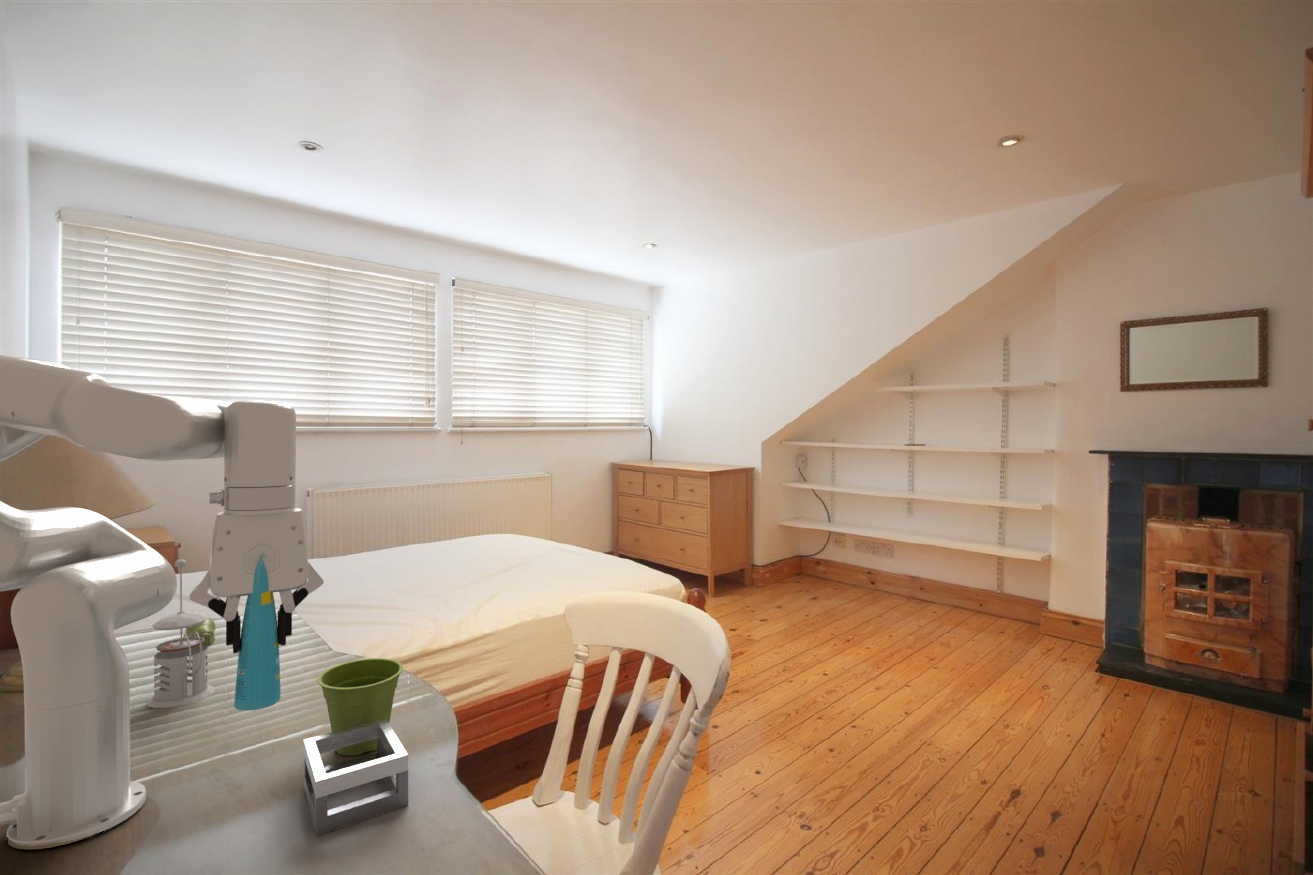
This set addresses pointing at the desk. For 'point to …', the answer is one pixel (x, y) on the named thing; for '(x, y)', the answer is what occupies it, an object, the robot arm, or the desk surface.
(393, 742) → the square metal frame
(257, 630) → the tube
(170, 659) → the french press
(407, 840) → the desk surface
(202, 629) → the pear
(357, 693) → the plant pot
